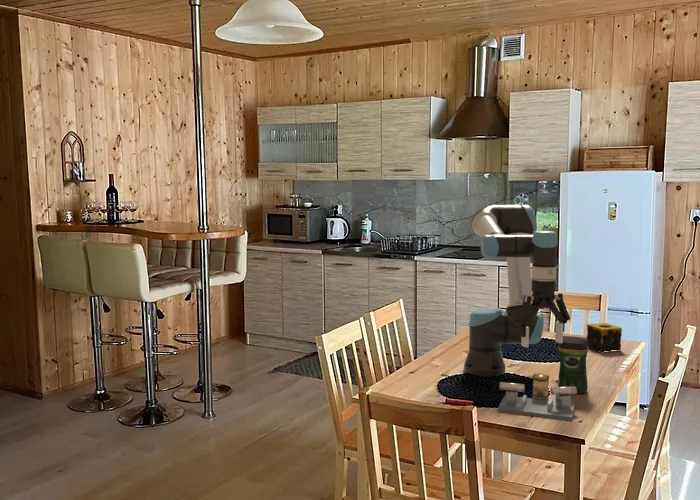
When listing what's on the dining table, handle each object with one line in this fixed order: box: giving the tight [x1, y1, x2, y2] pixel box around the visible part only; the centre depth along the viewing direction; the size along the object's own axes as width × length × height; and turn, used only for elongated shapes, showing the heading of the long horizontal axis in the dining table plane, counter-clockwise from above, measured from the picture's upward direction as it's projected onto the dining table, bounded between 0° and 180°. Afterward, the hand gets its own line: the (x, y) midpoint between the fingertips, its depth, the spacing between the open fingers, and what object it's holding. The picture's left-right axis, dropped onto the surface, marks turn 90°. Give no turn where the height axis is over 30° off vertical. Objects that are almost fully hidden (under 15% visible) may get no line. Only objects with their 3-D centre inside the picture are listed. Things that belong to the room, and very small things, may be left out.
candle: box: [586, 322, 623, 353], centre depth 285 cm, size 10×10×10 cm
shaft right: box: [550, 386, 578, 409], centre depth 213 cm, size 8×4×6 cm, turn 98°
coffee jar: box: [557, 335, 589, 394], centre depth 231 cm, size 10×8×19 cm
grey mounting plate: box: [497, 394, 576, 421], centre depth 214 cm, size 22×13×3 cm, turn 68°
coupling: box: [532, 372, 550, 400], centre depth 223 cm, size 5×5×8 cm
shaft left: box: [498, 381, 526, 405], centre depth 217 cm, size 8×4×6 cm, turn 68°
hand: (542, 344), depth 221 cm, fingers open, 13 cm apart
